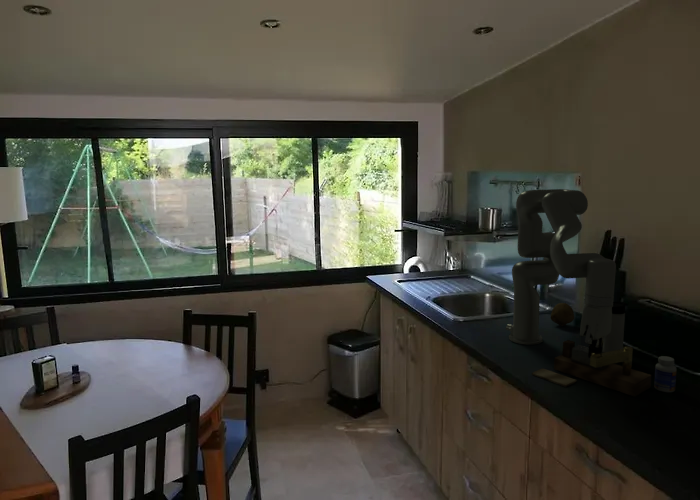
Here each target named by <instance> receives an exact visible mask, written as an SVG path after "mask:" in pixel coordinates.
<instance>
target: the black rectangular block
mask: <svg viewBox="0 0 700 500" xmlns="http://www.w3.org/2000/svg"><path fill="white" fill-rule="evenodd" d="M588 353H589V346H586V345H585V346H584V345H581V344H578V345H576V346H575V347H573V348H572V358H571V361H573V362H576V363H579V364H582V365H585V366H589V367H592V368H595V367H593V366H591V365H590V358H589V357H588ZM602 353H605V352H603V350H602ZM608 367H609V365H605V366H601V367H597V368H595V369H598V370H601V371H602V370H604V369H606V368H608Z"/></svg>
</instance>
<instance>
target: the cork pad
mask: <svg viewBox="0 0 700 500" xmlns="http://www.w3.org/2000/svg"><path fill="white" fill-rule="evenodd" d="M531 375H532V376H534V377H537V378H540V379H543V380H546V381H549V382H551V383H554V384H557V385H559V386H562V387H564V388H567V387H569V386H571V385H573V384H575V383H577V379H576V378H571V377H569V376H566V375H563V374H560V373H558V372H555V371H552V370H549V369H546V368H541V369H540V368H539V369H537V370H535V371H533V372H531Z"/></svg>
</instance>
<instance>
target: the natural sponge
mask: <svg viewBox="0 0 700 500" xmlns="http://www.w3.org/2000/svg"><path fill="white" fill-rule="evenodd" d="M550 319H551V321H552V322H553V323H555V324H557V325H558V326H561V327H564V326H566V325H567V324H569V323H570V324H571V323H572V322H573V321H574V320H575V313H574V309H573V307H572V306H570V304H568V303H566V302H559V303H557V304H555V306H554V307H553V308H552V311H551V314H550Z"/></svg>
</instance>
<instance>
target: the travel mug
mask: <svg viewBox="0 0 700 500" xmlns="http://www.w3.org/2000/svg"><path fill="white" fill-rule="evenodd" d="M627 305H628V304H627V303H626V302H625V301H613V307H612V326H611V332H610V333H609V334H608V335H607V336H606V337H605V338H604V342H603V346H602V351H603V352H610V351H615V350H619V349H624V336H625V332H624V331H625V323H626V322H625V320H626V306H627Z"/></svg>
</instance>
